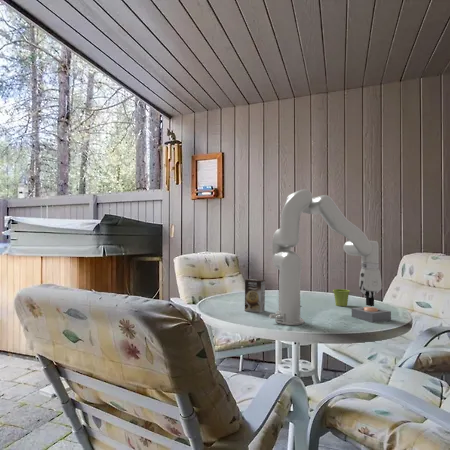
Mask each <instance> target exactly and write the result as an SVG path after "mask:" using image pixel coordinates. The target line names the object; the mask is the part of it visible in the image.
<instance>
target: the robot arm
mask: <svg viewBox="0 0 450 450" xmlns="http://www.w3.org/2000/svg"><path fill="white" fill-rule="evenodd" d="M285 199H286V200H285V204H284V205H283V207H282V210H281V216H280V226H279V227H280V228H278V229H276V230H275V231H274V232H273V234H272V235H273V236H272V241H271V245H272V246H271V261H272V264H273V266H274V268H276V269H277V270H279V275H278V310H276V312H275V313H270V314H269V315H268V316H269V319H271V320H272V319H273V320H274V322H276V323H277V324H281V325H286V326H298V325H303V324H304V323H305V319H303V318H301V276H302V275H301V274H302V268H303V261H302V257H301V256H300V255H299V254H298V253H297V252H296V251H294V250H292V248H294V247H297V246H298V245H299V243H300V234H301V233H300V229H301V228H300V226H301V223H300V221H301V215H302V213H304V214H308V215H320V216H321V218H322V219H323V221H324V222H325V223H326V224H327V226H328V227H329V229H330V230H331V231H334V232H335V233H337V234H339V235H342V236H343V237H345V238H347V241H345V243H344V244H343V247H342V248H343V251H344V252H345V253H346V254H347V255H348V256H354V257H358V256H359V257H360V258H361V263H360V267H361V269H360V273H359V281H358V283H359V284H358V285H359V289H360V294H363V295H364V297H365V305H366V306H367V307H374V306H375V297H376V294H378V293H379V292H380V291H381V290H382V286H383V285H382V276H381V270H380V269H379V267H380V264H379V263H380V262H379V258H380V257H379V242H378V241H377V240H369V238H368V237H367V235H366V234H365V232H363V230H362V229H361V228H360V227H358V226H357V225H355V224H354V223H353V222H351V221H350V220H348V219H347V218H346V216H345V215H344V213H343V212H342V211H341V210H340V208H339V207H338V205H337V204H336V203H335V201H334V199H332V197H331V196H329V195H327V194H323V195H319V196H314V195H313V193H312V192H311V191H310V190H309V189H303V188H302V189H300V190H296V191H294V192H292V193H290V194H289V195H287V197H286V198H285Z"/></svg>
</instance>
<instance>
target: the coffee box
mask: <svg viewBox="0 0 450 450" xmlns="http://www.w3.org/2000/svg"><path fill="white" fill-rule="evenodd" d="M265 300H266V280H265V279H259V278H258V279H257V278H256V279H255V278H246V279H244V311H245V312H251V313H252V312H253V313H259V314H261V313H263V312H265V311H266V307H265V305H266V301H265Z"/></svg>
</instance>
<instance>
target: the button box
mask: <svg viewBox="0 0 450 450" xmlns="http://www.w3.org/2000/svg"><path fill="white" fill-rule="evenodd" d="M364 307H365V306H363V307H362V306H361V307H352V308H351V317H352V318H355V319H357V320H358V319H359V320H361V321H366V322H368V323H369V322H370V323H379V322H380V323H381V322H388V320H389V321H392V311H391V310H385V309H381V308H378V311H375V312H370V311H366V310H364Z"/></svg>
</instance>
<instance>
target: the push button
mask: <svg viewBox="0 0 450 450" xmlns="http://www.w3.org/2000/svg"><path fill="white" fill-rule="evenodd" d="M363 307H364V310H366V311H370V312H375V311H378V309H379V308H377V307H374V306H363Z"/></svg>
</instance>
